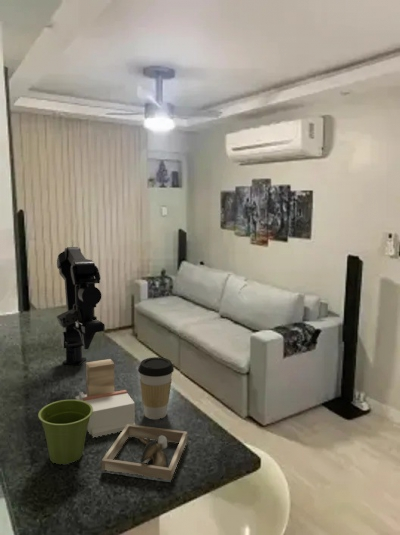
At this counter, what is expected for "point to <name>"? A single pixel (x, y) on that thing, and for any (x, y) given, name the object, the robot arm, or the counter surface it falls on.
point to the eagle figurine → (155, 451)
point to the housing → (109, 412)
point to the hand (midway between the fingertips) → (86, 349)
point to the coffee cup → (155, 386)
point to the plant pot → (65, 429)
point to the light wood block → (99, 377)
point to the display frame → (144, 468)
